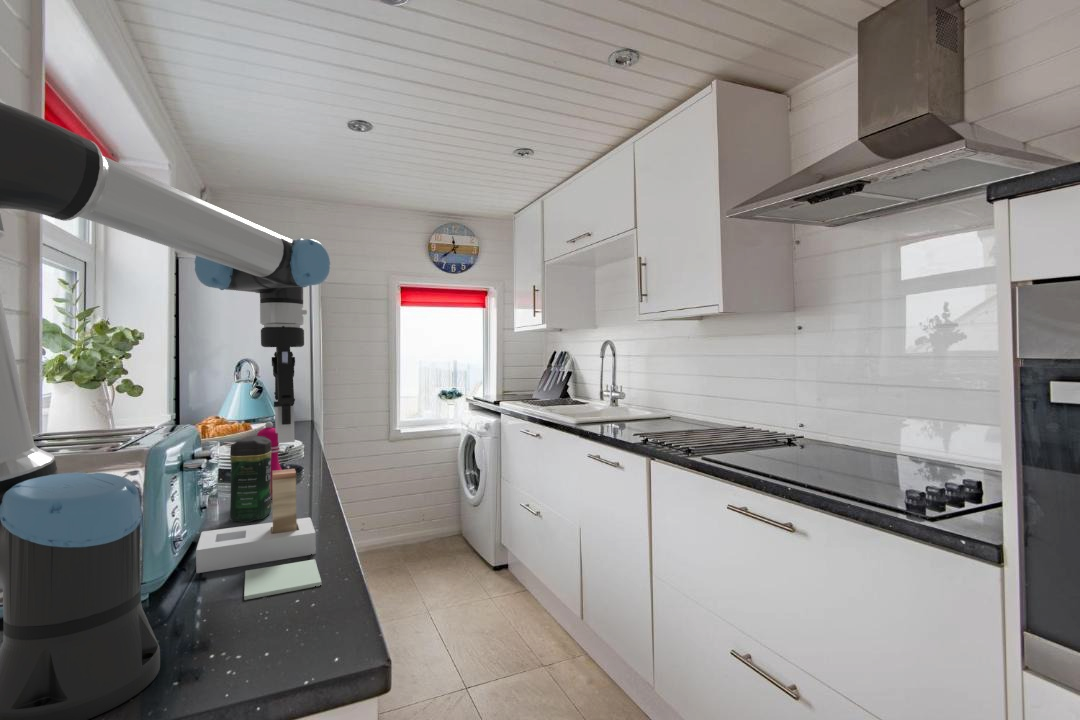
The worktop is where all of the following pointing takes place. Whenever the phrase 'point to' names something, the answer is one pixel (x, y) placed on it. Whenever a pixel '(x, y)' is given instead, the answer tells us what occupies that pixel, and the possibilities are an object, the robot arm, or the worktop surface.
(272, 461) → the pepper mill
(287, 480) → the tan wooden tall block
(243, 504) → the coffee jar
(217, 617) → the worktop surface
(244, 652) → the worktop surface
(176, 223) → the robot arm
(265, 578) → the mat
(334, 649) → the worktop surface
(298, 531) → the white box
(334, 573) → the worktop surface
